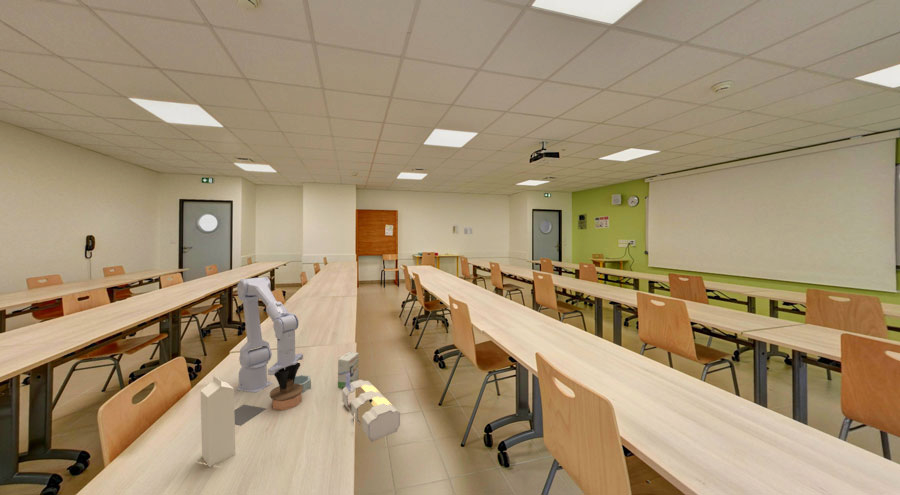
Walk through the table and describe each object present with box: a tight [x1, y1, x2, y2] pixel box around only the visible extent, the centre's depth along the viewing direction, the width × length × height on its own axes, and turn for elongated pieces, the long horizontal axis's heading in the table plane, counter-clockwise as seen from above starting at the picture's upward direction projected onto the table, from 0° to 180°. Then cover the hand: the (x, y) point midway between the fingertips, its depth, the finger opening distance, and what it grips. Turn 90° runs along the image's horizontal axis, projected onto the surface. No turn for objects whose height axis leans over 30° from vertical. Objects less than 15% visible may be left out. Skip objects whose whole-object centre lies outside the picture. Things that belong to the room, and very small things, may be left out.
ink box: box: [337, 351, 360, 389], centre depth 126 cm, size 9×5×12 cm, turn 168°
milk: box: [200, 374, 236, 468], centre depth 84 cm, size 6×6×22 cm
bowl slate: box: [294, 374, 312, 394], centre depth 122 cm, size 9×9×4 cm
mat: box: [234, 404, 268, 427], centre depth 104 cm, size 10×10×1 cm
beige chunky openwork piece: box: [341, 372, 401, 443], centre depth 103 cm, size 25×10×13 cm, turn 36°
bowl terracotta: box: [272, 393, 302, 411], centre depth 111 cm, size 9×9×4 cm
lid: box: [269, 379, 303, 401], centre depth 111 cm, size 10×10×4 cm
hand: (286, 386), depth 111 cm, fingers closed on lid, 3 cm apart
